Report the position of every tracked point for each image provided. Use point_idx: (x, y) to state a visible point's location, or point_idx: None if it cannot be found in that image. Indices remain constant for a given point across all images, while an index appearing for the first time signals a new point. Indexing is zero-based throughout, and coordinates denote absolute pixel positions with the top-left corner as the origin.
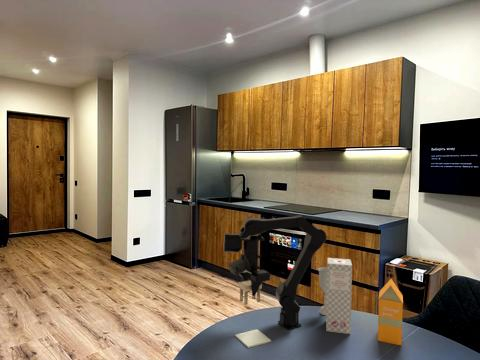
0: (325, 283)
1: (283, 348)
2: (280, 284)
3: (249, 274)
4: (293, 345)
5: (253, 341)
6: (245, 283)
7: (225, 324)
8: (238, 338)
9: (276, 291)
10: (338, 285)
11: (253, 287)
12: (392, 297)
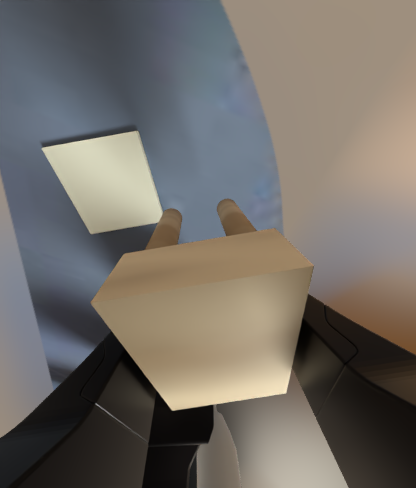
0: (201, 451)
1: (56, 248)
2: (188, 425)
3: (352, 462)
4: (74, 273)
5: (81, 181)
6: (213, 324)
7: (240, 124)
8: (114, 135)
9: None
10: None
11: (98, 352)
12: None
